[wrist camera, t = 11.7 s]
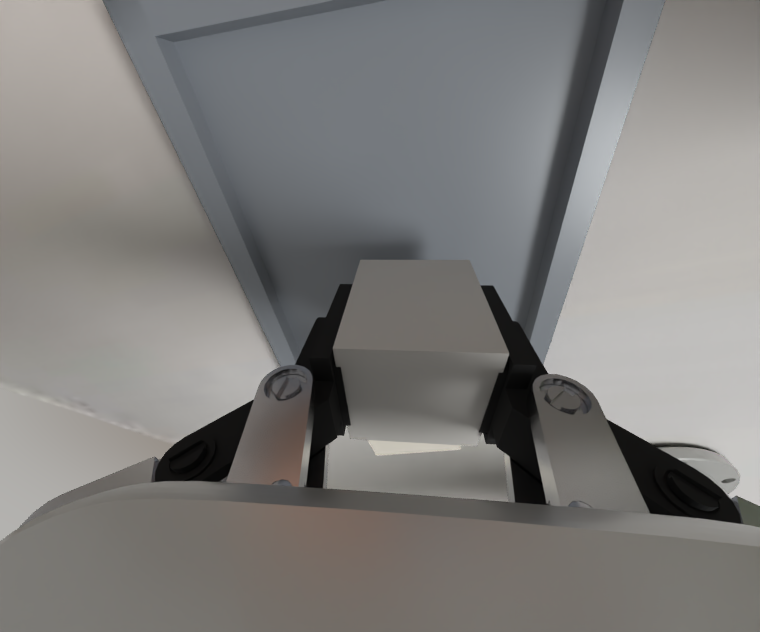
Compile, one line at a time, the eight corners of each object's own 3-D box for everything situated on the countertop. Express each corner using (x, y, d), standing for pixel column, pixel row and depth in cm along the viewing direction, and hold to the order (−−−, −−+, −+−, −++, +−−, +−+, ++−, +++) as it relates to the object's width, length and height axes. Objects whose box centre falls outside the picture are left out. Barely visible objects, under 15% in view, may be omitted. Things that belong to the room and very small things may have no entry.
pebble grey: (455, 341, 12) (477, 446, 8) (367, 339, 13) (349, 438, 9) (469, 260, 10) (509, 353, 6) (360, 259, 10) (332, 348, 6)
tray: (523, 379, 17) (532, 397, 16) (305, 388, 19) (299, 405, 18) (663, -108, 7) (716, -152, 6) (138, 6, 8) (97, -11, 7)
